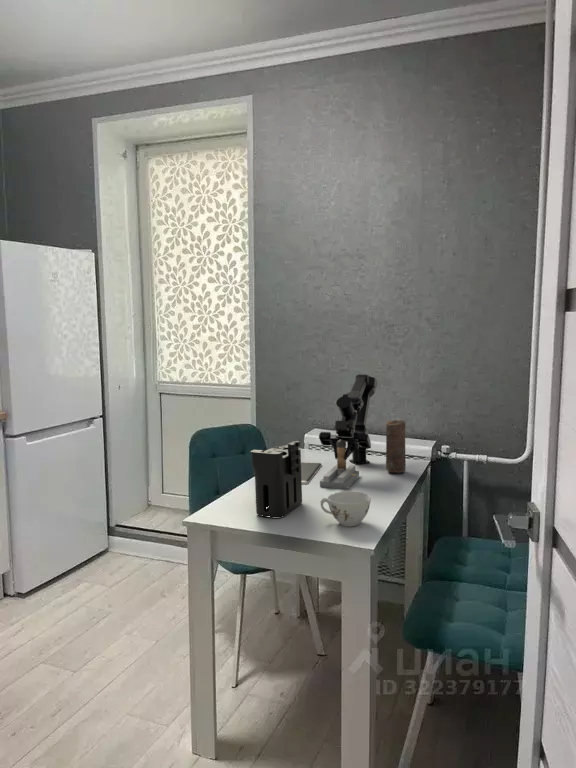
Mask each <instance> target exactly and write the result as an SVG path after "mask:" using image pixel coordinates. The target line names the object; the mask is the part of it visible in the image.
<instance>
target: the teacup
mask: <svg viewBox="0 0 576 768" xmlns="http://www.w3.org/2000/svg"><path fill="white" fill-rule="evenodd" d="M371 500H372V498H371V496H370V495H368V494H367V493H364V492H362V491H354V490H353V491H352V490H351V491H347V490H346V491H340V492H339V491H338V492H334V494H329V495H328V496H327V497H326V498H325V497H324V498H322V499H321V500H320V507H321V509H322V511H324V513H325V514H329V515H332V516H333V518H334V519H335V520H336V521H337V522H338V523H339V524H340V525H341V526H344V527H355V526H358V525H360V524H361V522H362V521H363V520H364V518H365V517H366V516H367V515H368V512H369V510H370V505H371ZM324 503H327V505H328V509H329V510H328V509H326V508H325V507H324Z"/></svg>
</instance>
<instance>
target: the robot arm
mask: <svg viewBox="0 0 576 768" xmlns="http://www.w3.org/2000/svg"><path fill="white" fill-rule="evenodd" d="M377 388H378V380H377V379H376V378H375V377H372V376H370V375H369V374H366V373H365V374H361V373H360V374H359V373H358V374H356V375H355V381H354V383H353V385H352V387H351V390H350V392H347V393H344V394H342V396H340V397H338V399H337V400H336V404H335V405H336V407H337V410H338V412H339V415H340V416H341V418H340V420H335V422H334V430H335V434H332V433H331V432H330V431H321V432H320V433H319V435H318V439H319V441H320V443H321V445H322V446H327V447H329V446H330V447H331V448H333V453H334V459H335V460H337V445H336V443H337V441H338V440H344V441H345V442H346V453H345V460H346V461H347V460H348V458H349V457H350V456H351V455H352V459H349V462H350V463H352V464H353V465H362V464H369V463H370V460H368V459H367V450H369V449H372V443H371V438H370V436H369V433H368V430H367V427H366V424H367V418H368V413H369V406H370V400H371V398H372V397H373V396H374V395H375V393H376V389H377Z"/></svg>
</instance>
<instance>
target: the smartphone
mask: <svg viewBox="0 0 576 768" xmlns="http://www.w3.org/2000/svg"><path fill="white" fill-rule="evenodd" d="M322 465H323V464H322V463H321V462H307V461H306V462H305V461H301V480H302V485H308V484H309V483H310V482H311V480H312V479H313V477H314V476H315V475H316V474H317V473H318V471H319V470H320V469H321V467H322ZM319 468H320V469H319Z"/></svg>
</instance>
